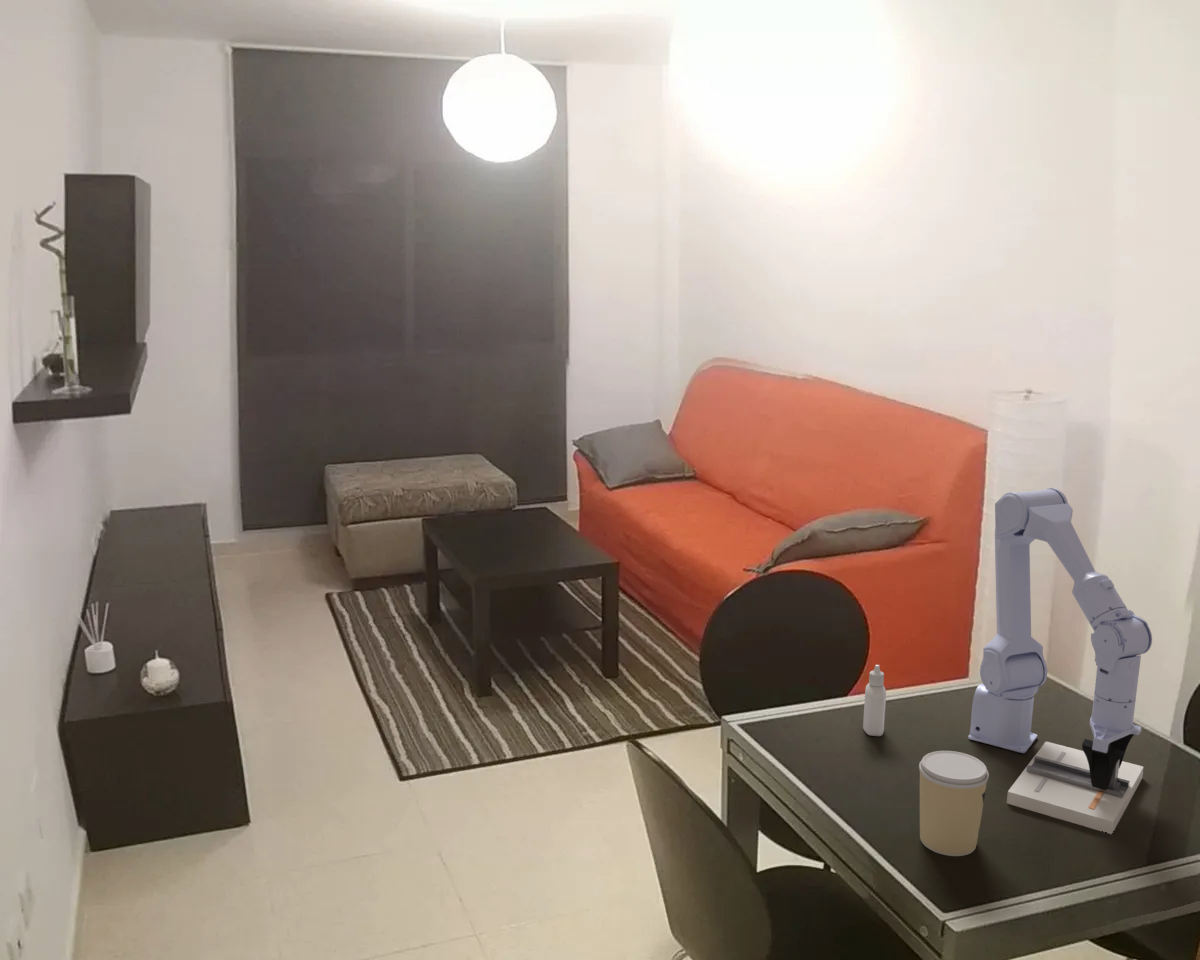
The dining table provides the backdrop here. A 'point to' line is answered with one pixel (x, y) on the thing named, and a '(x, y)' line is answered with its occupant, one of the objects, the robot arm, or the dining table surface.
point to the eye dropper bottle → (874, 703)
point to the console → (1072, 789)
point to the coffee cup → (951, 801)
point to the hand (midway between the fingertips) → (1105, 777)
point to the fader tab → (1114, 777)
